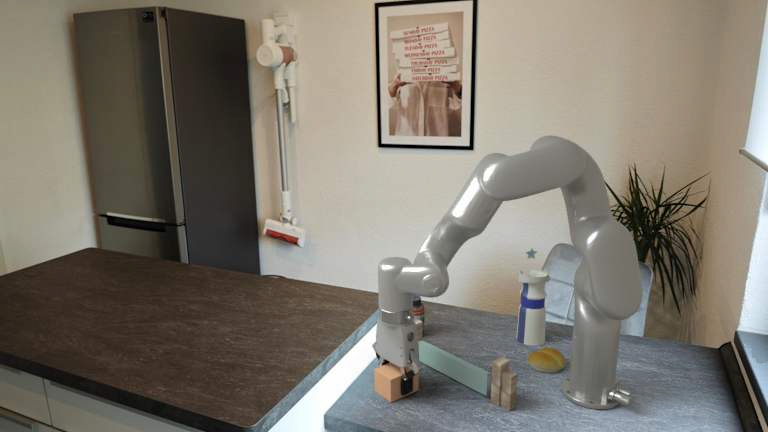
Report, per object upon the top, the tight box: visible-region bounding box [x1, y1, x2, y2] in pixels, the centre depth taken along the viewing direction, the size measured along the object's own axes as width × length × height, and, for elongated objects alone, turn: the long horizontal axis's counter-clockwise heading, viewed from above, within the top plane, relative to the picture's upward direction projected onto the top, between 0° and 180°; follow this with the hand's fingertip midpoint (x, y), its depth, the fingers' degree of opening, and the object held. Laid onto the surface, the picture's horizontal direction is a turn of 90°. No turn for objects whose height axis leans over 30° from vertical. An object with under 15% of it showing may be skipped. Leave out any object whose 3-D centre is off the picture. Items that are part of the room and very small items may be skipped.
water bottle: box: [515, 247, 551, 347], centre depth 144 cm, size 8×9×25 cm
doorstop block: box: [373, 362, 420, 403], centre depth 121 cm, size 6×8×6 cm
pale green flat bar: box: [418, 339, 492, 399], centre depth 126 cm, size 23×2×5 cm, turn 41°
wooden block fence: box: [413, 319, 518, 412], centre depth 126 cm, size 34×3×10 cm, turn 41°
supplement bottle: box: [413, 295, 425, 337], centre depth 149 cm, size 6×6×11 cm
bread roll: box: [527, 347, 567, 374], centre depth 133 cm, size 8×9×4 cm
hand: (396, 386), depth 122 cm, fingers closed on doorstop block, 6 cm apart
